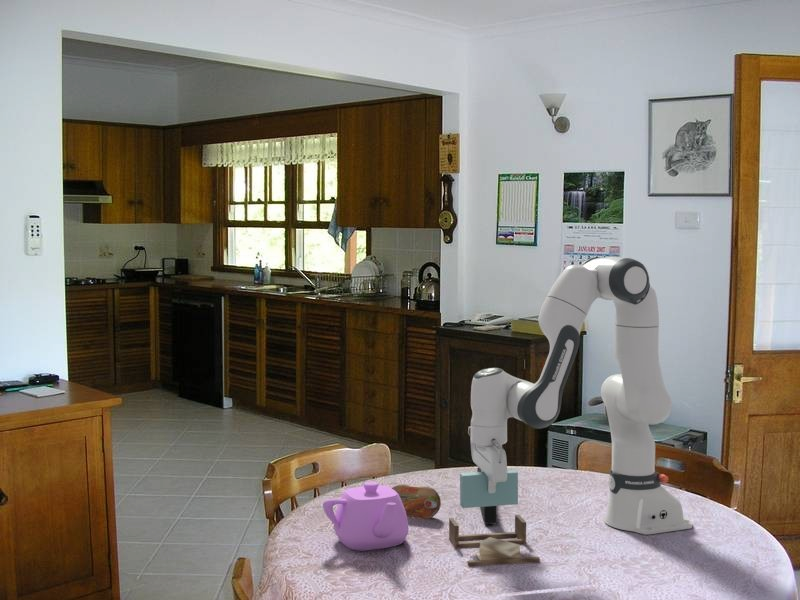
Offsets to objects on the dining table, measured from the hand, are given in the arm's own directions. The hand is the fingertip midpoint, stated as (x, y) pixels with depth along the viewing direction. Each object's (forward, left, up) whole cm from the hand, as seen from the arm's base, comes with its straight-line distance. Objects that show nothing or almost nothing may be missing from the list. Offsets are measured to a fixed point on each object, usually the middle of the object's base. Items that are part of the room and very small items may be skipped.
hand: (489, 490), depth 218 cm
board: (0, 0, -4) cm, 4 cm away
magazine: (-6, -26, -14) cm, 30 cm away
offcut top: (0, +10, -11) cm, 15 cm away
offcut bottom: (0, +10, -14) cm, 18 cm away
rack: (0, +5, -14) cm, 15 cm away
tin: (+14, -24, -14) cm, 31 cm away
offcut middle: (0, +10, -13) cm, 16 cm away
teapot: (+28, -5, -14) cm, 32 cm away
